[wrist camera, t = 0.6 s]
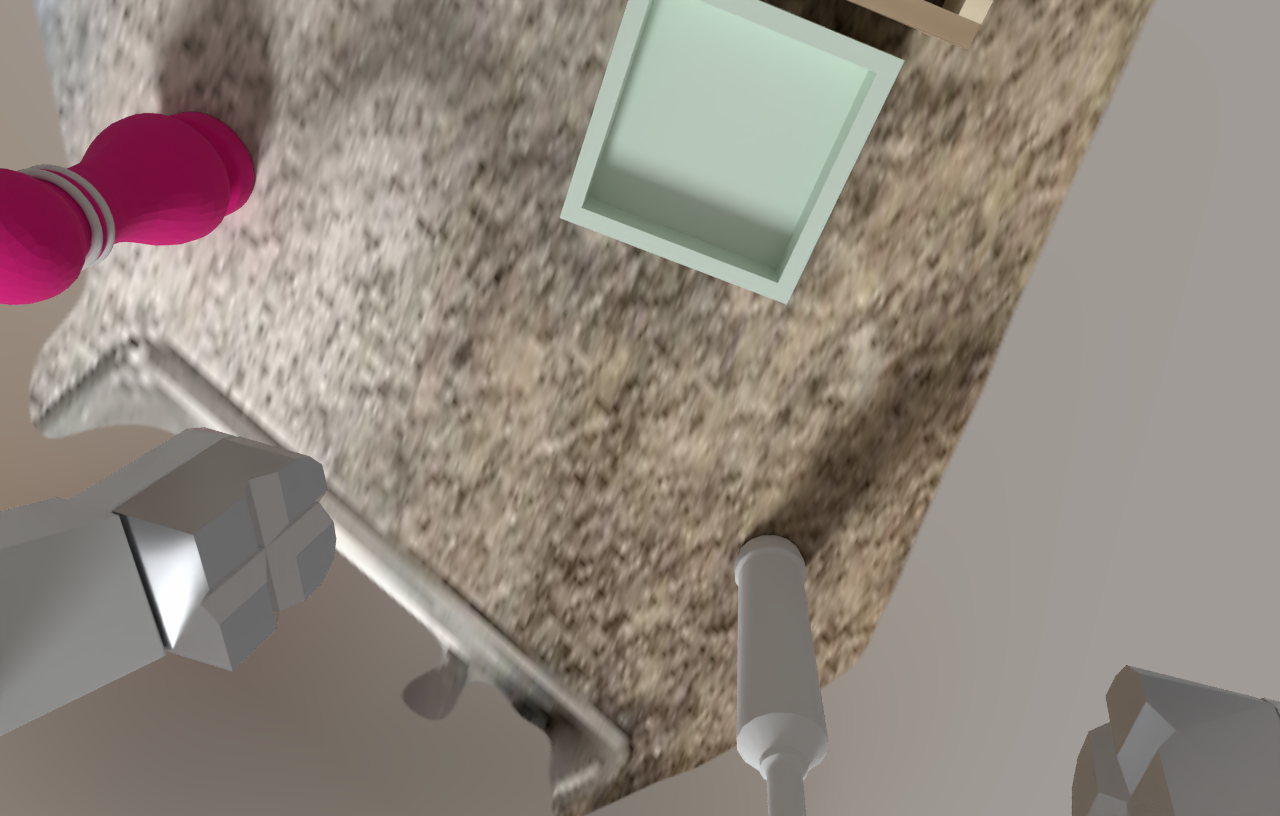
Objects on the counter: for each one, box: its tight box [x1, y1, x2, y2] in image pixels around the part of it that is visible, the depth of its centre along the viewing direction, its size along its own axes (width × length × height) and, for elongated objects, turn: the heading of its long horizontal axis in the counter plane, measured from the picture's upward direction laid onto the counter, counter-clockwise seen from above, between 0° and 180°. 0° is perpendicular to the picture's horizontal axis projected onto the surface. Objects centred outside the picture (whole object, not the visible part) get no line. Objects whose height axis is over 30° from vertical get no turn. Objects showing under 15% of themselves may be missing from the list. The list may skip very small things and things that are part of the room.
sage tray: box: [560, 0, 904, 304], centre depth 45 cm, size 14×14×4 cm
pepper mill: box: [0, 112, 254, 305], centre depth 42 cm, size 7×7×20 cm
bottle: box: [735, 535, 828, 816], centre depth 50 cm, size 5×5×25 cm
